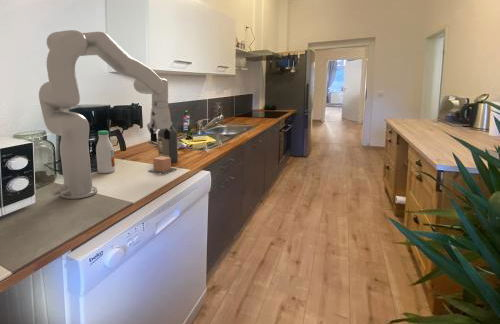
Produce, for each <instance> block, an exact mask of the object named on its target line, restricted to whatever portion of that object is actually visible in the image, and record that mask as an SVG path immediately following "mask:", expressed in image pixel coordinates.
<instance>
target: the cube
mask: <svg viewBox="0 0 500 324" xmlns="http://www.w3.org/2000/svg"><path fill="white" fill-rule="evenodd" d="M152 161H153V164H152V165H153V169H154V170H156V171H162V172H164V171H167V170H170V169H171V168H172V163H171V158H170V157H164V156H160V157H159V156H157V157H154V158H152Z"/></svg>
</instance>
